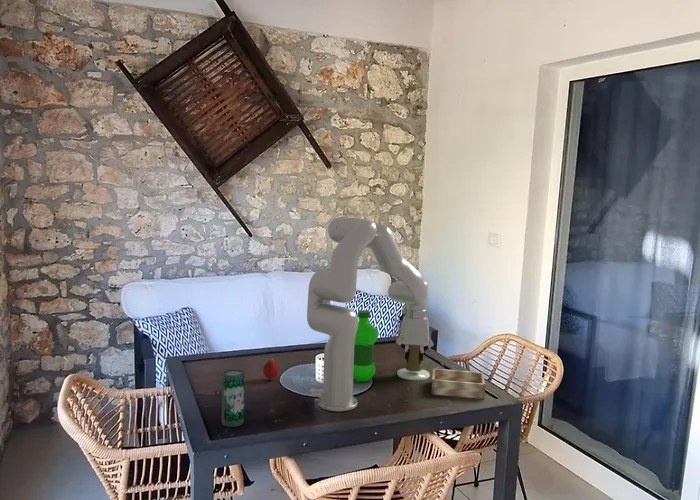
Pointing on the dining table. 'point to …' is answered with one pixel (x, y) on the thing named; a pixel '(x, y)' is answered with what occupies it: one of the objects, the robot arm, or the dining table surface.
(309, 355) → the dining table surface
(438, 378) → the box
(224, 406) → the can
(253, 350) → the dining table surface
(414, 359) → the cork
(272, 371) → the onion
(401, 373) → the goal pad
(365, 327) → the plastic bottle
